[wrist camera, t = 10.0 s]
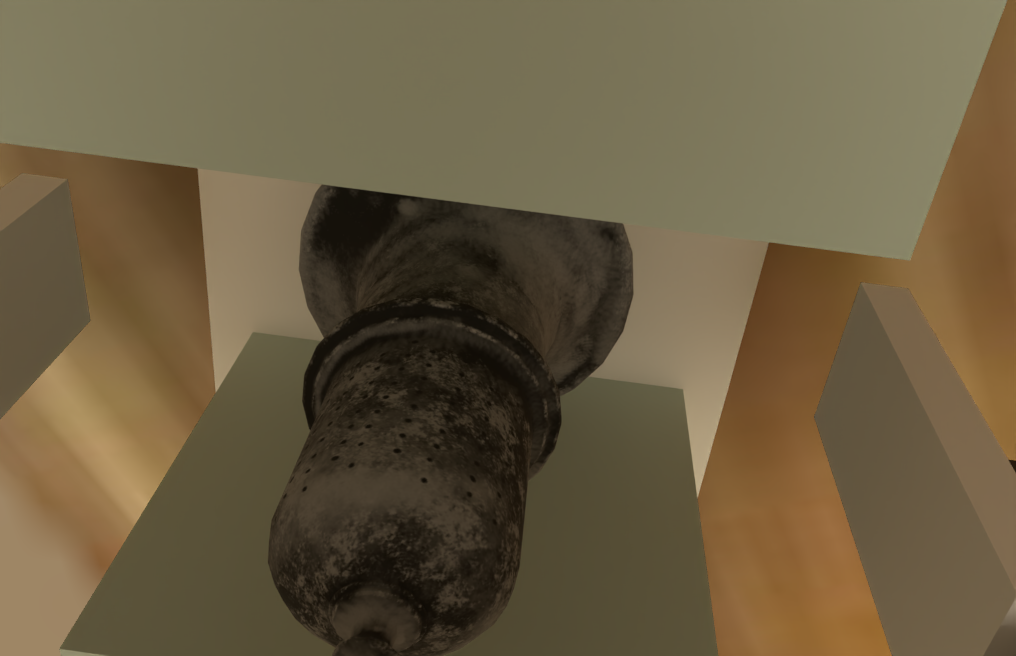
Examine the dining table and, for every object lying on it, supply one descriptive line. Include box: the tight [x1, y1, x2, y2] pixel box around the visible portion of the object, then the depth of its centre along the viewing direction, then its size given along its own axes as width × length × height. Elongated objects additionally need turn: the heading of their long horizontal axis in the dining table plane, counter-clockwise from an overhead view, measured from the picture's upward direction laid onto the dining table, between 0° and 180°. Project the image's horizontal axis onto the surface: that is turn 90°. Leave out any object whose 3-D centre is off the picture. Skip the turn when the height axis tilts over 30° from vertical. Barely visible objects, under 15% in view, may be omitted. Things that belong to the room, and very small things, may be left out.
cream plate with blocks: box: [0, 0, 1007, 656], centre depth 16 cm, size 17×12×10 cm
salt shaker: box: [268, 185, 634, 656], centre depth 14 cm, size 6×6×12 cm
